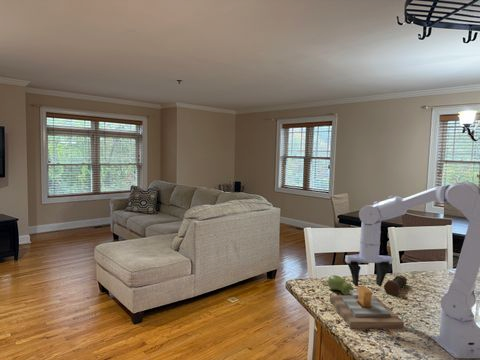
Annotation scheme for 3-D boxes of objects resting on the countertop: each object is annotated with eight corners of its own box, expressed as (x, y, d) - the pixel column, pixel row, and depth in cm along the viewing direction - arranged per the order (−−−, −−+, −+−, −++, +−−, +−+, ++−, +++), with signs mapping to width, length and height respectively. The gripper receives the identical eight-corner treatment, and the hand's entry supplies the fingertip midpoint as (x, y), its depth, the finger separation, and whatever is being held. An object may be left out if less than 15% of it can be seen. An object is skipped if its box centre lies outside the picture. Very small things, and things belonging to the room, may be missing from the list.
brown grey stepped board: (403, 328, 96) (404, 315, 96) (350, 328, 95) (351, 314, 95) (374, 301, 114) (375, 290, 114) (329, 300, 113) (330, 289, 113)
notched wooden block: (370, 317, 102) (372, 292, 102) (362, 317, 102) (364, 292, 102) (363, 310, 107) (365, 286, 106) (356, 310, 107) (358, 286, 106)
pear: (334, 271, 127) (358, 283, 119) (331, 284, 128) (354, 296, 120) (326, 274, 123) (350, 287, 116) (323, 287, 124) (346, 300, 117)
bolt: (404, 289, 131) (392, 299, 120) (393, 280, 134) (380, 289, 122) (413, 278, 129) (402, 288, 118) (401, 269, 132) (390, 277, 120)
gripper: (385, 240, 107) (382, 280, 108) (342, 239, 107) (340, 279, 108) (397, 246, 100) (394, 288, 101) (351, 245, 100) (348, 288, 100)
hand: (367, 284), depth 104 cm, fingers open, 7 cm apart
